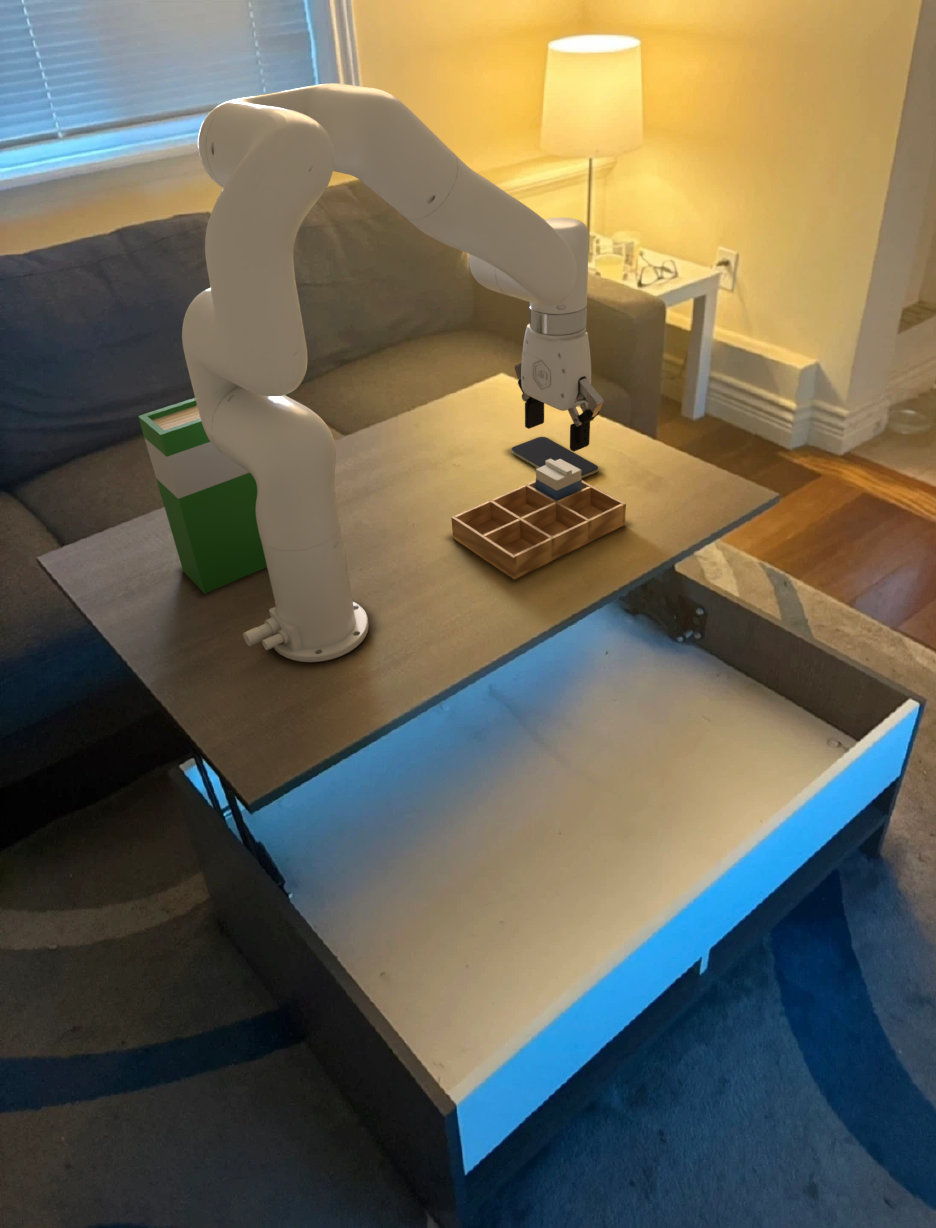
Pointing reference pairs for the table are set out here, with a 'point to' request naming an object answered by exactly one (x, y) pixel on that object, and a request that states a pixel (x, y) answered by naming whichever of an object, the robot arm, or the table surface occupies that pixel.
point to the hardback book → (203, 498)
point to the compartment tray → (536, 526)
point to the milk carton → (558, 479)
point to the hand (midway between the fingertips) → (556, 436)
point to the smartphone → (551, 455)
